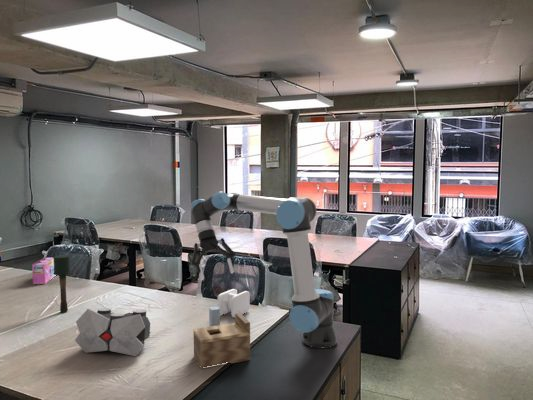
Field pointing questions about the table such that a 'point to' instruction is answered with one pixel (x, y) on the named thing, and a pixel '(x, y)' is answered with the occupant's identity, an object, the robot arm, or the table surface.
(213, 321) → the blue-gray rectangular block
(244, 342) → the open wooden box
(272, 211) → the robot arm
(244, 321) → the tan holed block
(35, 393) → the table surface
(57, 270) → the stick grenade
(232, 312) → the cable organizer
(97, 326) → the electronic device
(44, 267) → the gum box
